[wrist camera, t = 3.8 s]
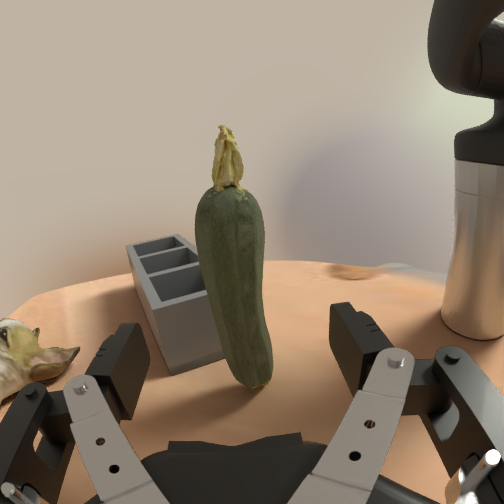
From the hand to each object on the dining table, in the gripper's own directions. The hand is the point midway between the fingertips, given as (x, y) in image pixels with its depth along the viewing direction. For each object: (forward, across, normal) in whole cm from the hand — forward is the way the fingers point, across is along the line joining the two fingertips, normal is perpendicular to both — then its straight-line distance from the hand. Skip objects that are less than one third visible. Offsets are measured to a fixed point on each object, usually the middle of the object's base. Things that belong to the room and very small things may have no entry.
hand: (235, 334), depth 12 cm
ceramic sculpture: (+7, +24, +11) cm, 28 cm away
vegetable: (+8, 0, +11) cm, 14 cm away
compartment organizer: (+23, +8, +11) cm, 27 cm away
